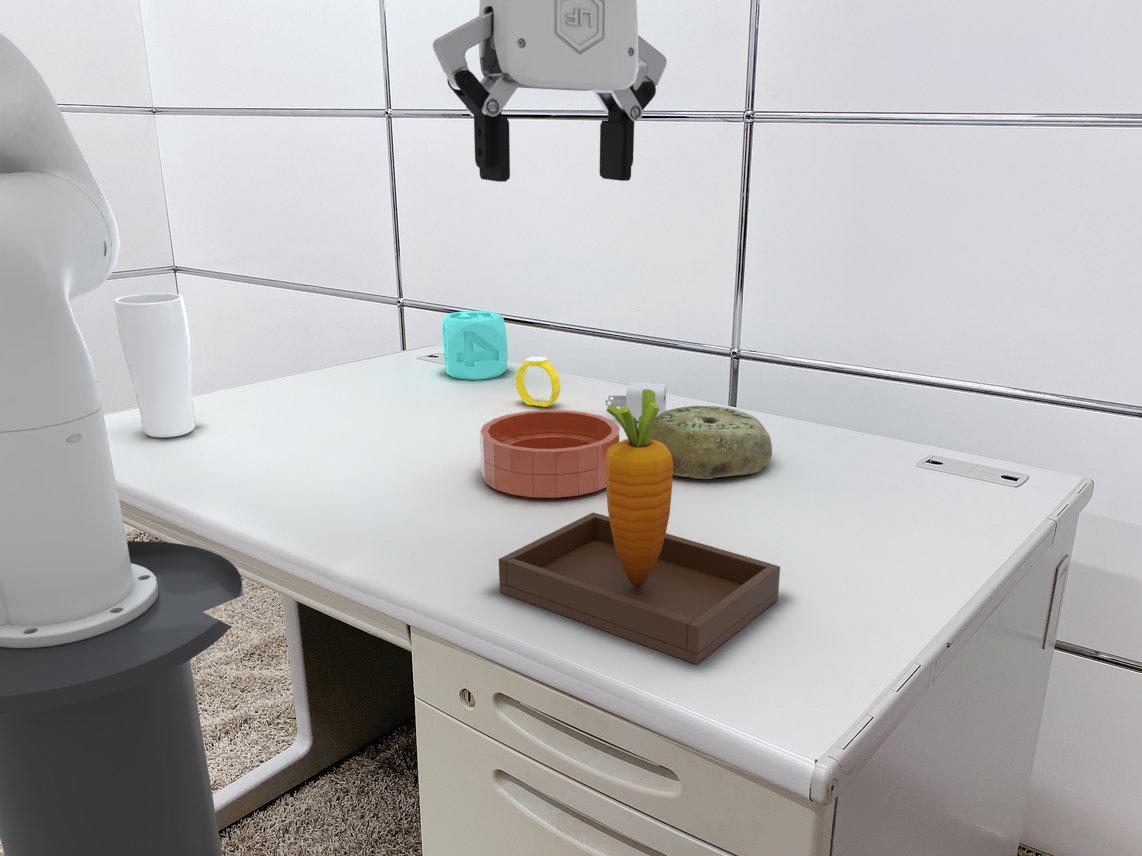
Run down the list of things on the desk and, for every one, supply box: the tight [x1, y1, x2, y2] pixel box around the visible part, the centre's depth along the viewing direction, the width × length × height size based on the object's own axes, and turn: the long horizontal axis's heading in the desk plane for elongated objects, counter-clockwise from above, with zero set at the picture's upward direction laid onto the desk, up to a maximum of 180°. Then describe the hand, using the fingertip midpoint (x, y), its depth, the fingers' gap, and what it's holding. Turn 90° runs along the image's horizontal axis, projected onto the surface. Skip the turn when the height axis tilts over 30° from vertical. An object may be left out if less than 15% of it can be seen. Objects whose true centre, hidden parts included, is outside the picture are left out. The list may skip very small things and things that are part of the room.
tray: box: [498, 512, 781, 665], centre depth 73 cm, size 18×12×3 cm, turn 55°
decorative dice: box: [441, 310, 509, 381], centre depth 135 cm, size 8×8×8 cm
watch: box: [515, 356, 562, 408], centre depth 121 cm, size 6×3×6 cm, turn 58°
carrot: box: [605, 389, 674, 587], centre depth 71 cm, size 5×5×15 cm
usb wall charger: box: [605, 382, 667, 422], centre depth 117 cm, size 4×7×4 cm, turn 83°
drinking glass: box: [113, 292, 196, 439], centre depth 107 cm, size 7×7×15 cm
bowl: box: [479, 409, 621, 499], centre depth 97 cm, size 14×14×5 cm
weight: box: [650, 405, 773, 480], centre depth 102 cm, size 14×13×5 cm
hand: (557, 179), depth 68 cm, fingers open, 9 cm apart
